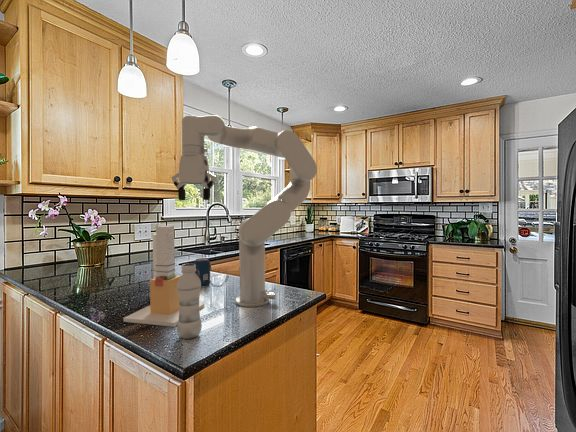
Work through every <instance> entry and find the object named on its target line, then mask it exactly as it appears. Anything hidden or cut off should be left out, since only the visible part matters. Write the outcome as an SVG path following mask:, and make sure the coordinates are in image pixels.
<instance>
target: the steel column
mask: <svg viewBox="0 0 576 432" xmlns="http://www.w3.org/2000/svg"><path fill="white" fill-rule="evenodd" d="M155 233H156V258H157V265H156V266H157V271H156V272H157V276H156V278H157V277H164V280H169V279H172V278H174V277H176V276H177V275H176V266H175V264H176V263H175V258H176V257H175V225H159V226H155Z"/></svg>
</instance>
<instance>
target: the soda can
mask: <svg viewBox="0 0 576 432" xmlns="http://www.w3.org/2000/svg"><path fill="white" fill-rule="evenodd" d="M193 264H195V265H196V271H195V274H196V275H197V276H198V277H199V279H200V281H201V288H206V287H208V286H210V284H211V262H210V259H209V258H208V257H202V258H195V260H194V263H193Z"/></svg>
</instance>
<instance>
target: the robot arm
mask: <svg viewBox="0 0 576 432" xmlns="http://www.w3.org/2000/svg"><path fill="white" fill-rule="evenodd" d="M205 136H206V137H207V139H209V140H210V141H211V142H212V143H216V144H219V145H223V146H226V147H232V148H237V149H241V150H242V149H243V150H249V151H255V152H259V153H263V154H265V155H266V154H267V155H270V156H274V157H278V158H284V159H285V161H286V162H287V164H288V165H289V179H290V180H289V183H288V184H287V186H286V187H284V189H282V190H281V191H280V192H279V193H278V194H276V196H274V197H273V198H272V199H269V200H268V201H267V202H266V203H264V205H263V207H261V209H259V210H258V211H257V212H255V213H254V214H253V215H252V216H251V217H249V218H245V219H244V220H243V221H242V222H241V223H240V225H239V227H238V243H239V244H238V245H239V246H238V247H239V249H238V250H239V252H238V253H239V256H238V257H239V261H238V262H239V263H238V264H239V265H238V266H239V268H238V269H239V271H238V272H239V296H237V297H236V298H235V304H236V305H237V306H241V307H246V308H255V307H256V308H257V307H261V306H265V305H267V304H269V302H270V300H276V298H277V295H276V294H275V292H269V291H268V288H266V248H265V247H266V246H265V244H266V241H267V240H268V239H270V238H271V237H272V236H273V235H275V233H277V232H279V230H281V228H283V227H284V226H285V225H286V224H287V223H288V221H290V218H291V214H292V213H293V212H294V211H295V210H296V209H297V208H298V207H299V206H300V205H301V204H303V203H304V201H305V200H306V199H307V198H308V196H309V193H310V190H311V181H312V180H314V178H315V177H316V175H317V173H318V167H317V166H318V165H317V164H316V160H315V159H314V158H313V156H312V154H311V153H310V152H309V150H308V149H307V147H306V146H305V145H304V143H303V141H302V140H301V138H300V137H299V136H298V134H297V133H295V132H294V131H292V130H288V129H287V130H282V131H281V132H276V131H273V130H269V129H266V128H262V127H258V126H251V127H250V126H249V127H246V128H238V127H234V126H228V125H227V124H226V123H225V120H224V119H223V118H222V116H221V117H220V116H219V115H214V114H213V115H212V114H210V115H204V116H201V115H200V116H198V115H186V116H183V118H182V119H181V137H182V138H181V140H182V141H181V146H182V148H181V149H182V155H180V158H179V167H178V173H176V174H174V175H173V176H172V177H171V180H172V182H173V185H174V187H176V189H177V193H178V194H177V196H178V201H186V189H185V187H186V186H187V185H203V191H202V194H203V200H204V201H210V198H211V189H212V187H213V186H214V185H215V183H216V180H217V178H218V176H217V175H215V174H213V173H212V172H210V166H209V161H208V157H207V155H206V153H208V148H206V147H205Z"/></svg>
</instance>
